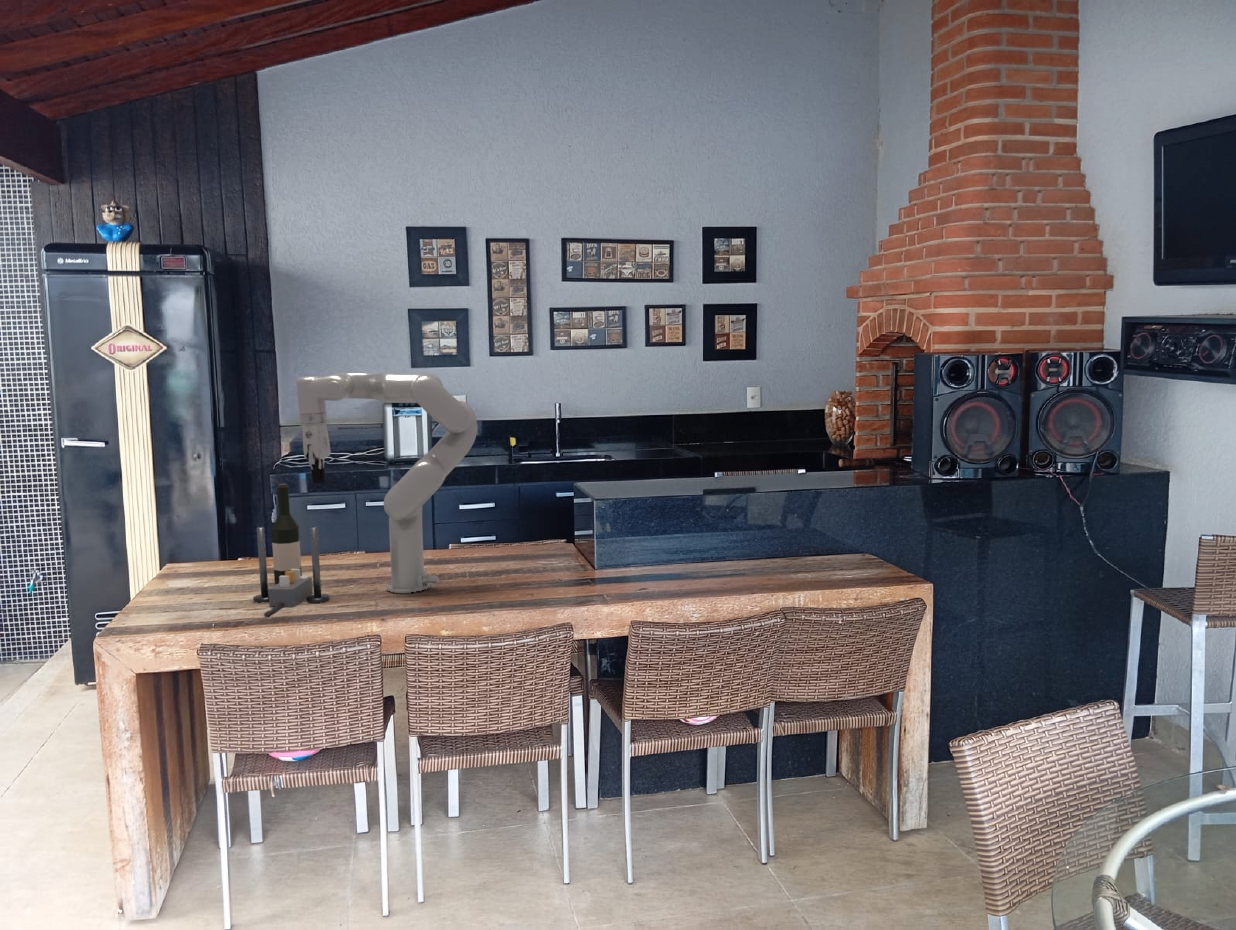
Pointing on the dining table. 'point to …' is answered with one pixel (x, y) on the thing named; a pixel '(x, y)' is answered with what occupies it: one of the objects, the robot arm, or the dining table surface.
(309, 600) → the post
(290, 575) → the breaker paddle
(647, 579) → the dining table surface
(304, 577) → the grey power strip
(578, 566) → the dining table surface
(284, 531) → the wine bottle
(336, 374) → the robot arm
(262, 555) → the post
